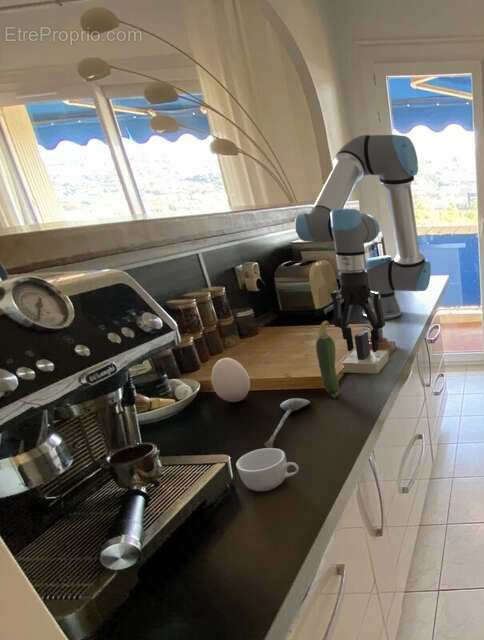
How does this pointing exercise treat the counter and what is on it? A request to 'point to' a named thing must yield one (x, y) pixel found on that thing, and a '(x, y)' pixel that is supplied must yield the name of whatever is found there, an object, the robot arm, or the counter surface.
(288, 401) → the soupspoon
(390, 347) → the button block
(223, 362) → the egg
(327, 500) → the counter surface
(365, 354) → the dark grey block
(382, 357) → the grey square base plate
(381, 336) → the button
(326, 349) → the vegetable
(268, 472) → the teacup
